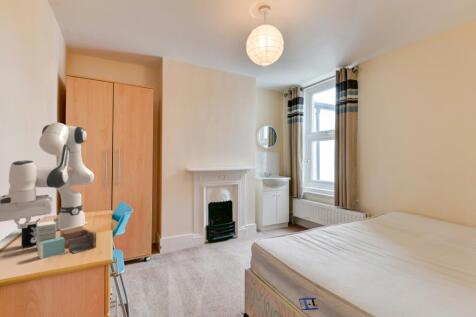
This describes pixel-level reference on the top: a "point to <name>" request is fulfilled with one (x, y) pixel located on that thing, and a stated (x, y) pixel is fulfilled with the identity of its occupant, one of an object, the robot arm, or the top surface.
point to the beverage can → (29, 235)
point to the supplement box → (45, 231)
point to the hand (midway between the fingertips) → (22, 228)
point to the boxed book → (51, 247)
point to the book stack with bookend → (78, 239)
